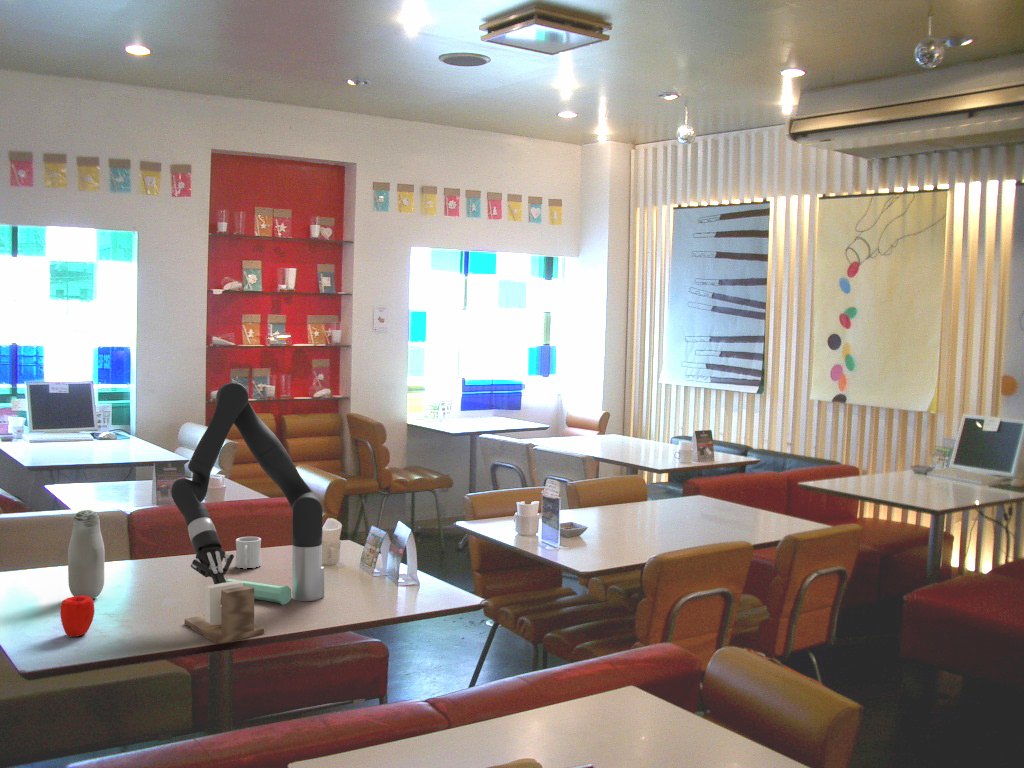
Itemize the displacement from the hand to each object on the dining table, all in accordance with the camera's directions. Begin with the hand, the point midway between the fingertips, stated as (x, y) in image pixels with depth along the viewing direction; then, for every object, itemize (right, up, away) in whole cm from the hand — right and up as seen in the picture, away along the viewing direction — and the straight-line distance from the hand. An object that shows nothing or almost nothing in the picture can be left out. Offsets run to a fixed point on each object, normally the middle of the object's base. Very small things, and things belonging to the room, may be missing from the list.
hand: (221, 586), depth 275 cm
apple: (-37, -12, -8) cm, 40 cm away
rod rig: (+1, -12, -1) cm, 12 cm away
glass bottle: (-50, -10, +27) cm, 58 cm away
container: (+2, -7, +33) cm, 34 cm away
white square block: (+1, -9, -1) cm, 9 cm away
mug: (-11, -8, +69) cm, 71 cm away
